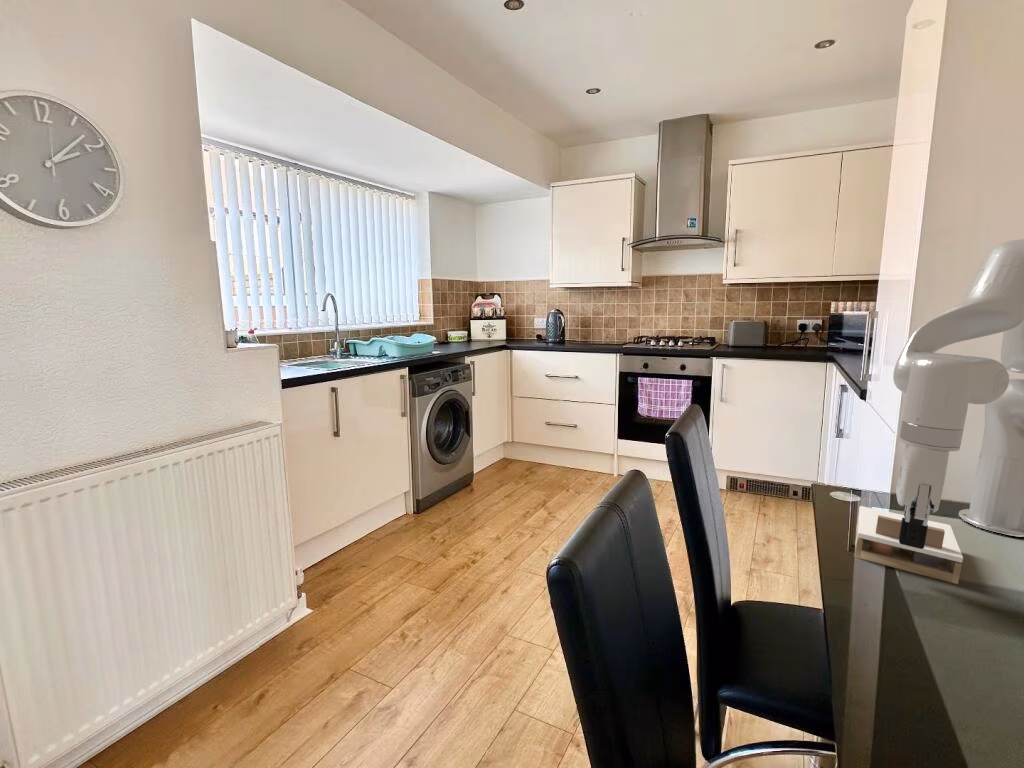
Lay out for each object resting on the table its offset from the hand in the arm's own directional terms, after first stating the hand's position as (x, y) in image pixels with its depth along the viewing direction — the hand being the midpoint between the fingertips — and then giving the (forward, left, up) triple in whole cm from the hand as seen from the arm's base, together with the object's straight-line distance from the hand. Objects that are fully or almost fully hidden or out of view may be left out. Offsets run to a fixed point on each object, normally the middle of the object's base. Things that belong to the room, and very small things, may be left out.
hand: (910, 544), depth 83 cm
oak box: (-10, -4, -6) cm, 13 cm away
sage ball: (-11, -4, -6) cm, 13 cm away
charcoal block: (-7, 0, -6) cm, 9 cm away
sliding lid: (-10, -4, -2) cm, 11 cm away
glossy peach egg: (-6, -6, -6) cm, 10 cm away
